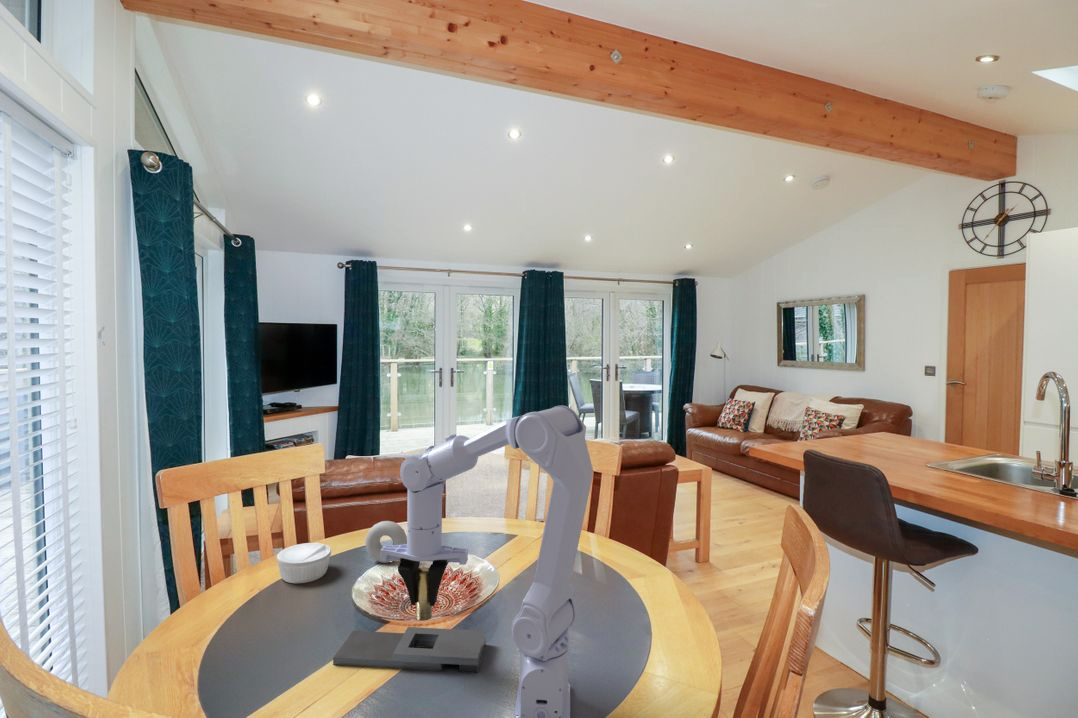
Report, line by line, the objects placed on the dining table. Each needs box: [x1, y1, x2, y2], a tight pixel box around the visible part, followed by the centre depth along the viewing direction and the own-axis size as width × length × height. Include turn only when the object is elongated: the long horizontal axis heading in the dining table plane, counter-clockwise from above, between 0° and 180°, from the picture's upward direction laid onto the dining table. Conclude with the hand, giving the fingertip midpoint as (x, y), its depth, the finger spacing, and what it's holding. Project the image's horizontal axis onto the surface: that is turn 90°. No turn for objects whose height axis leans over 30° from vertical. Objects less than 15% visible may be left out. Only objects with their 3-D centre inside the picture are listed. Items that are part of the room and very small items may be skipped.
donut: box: [364, 520, 407, 564], centre depth 126 cm, size 10×4×10 cm, turn 87°
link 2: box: [393, 626, 487, 674], centre depth 90 cm, size 8×14×2 cm, turn 86°
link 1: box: [332, 630, 444, 672], centre depth 90 cm, size 8×18×1 cm, turn 86°
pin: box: [415, 566, 433, 622], centre depth 90 cm, size 3×3×8 cm
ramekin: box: [276, 542, 332, 584], centre depth 119 cm, size 11×11×5 cm
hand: (424, 602), depth 90 cm, fingers closed on pin, 3 cm apart
